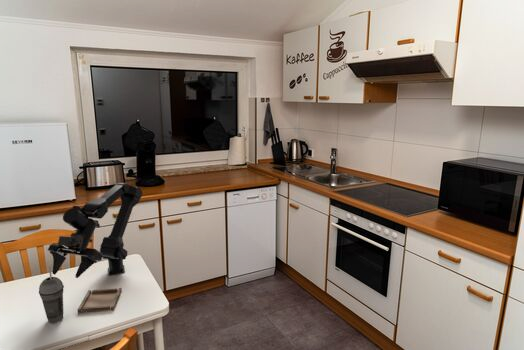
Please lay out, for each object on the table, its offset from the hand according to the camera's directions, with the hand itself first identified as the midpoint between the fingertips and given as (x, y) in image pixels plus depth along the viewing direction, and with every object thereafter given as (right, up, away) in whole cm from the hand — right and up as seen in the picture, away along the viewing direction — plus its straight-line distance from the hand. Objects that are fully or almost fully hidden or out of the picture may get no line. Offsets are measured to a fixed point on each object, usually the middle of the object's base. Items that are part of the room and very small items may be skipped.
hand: (64, 275), depth 124 cm
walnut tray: (+9, -12, +7) cm, 16 cm away
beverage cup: (-2, -14, -3) cm, 14 cm away
